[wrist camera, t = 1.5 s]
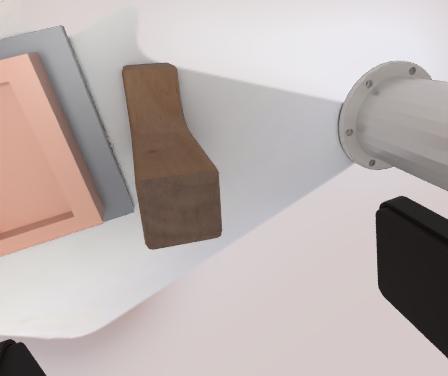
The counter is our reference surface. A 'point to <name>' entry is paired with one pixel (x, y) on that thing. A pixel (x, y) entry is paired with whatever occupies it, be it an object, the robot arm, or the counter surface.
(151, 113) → the wooden block
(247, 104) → the counter surface
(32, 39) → the baseplate
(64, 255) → the counter surface
